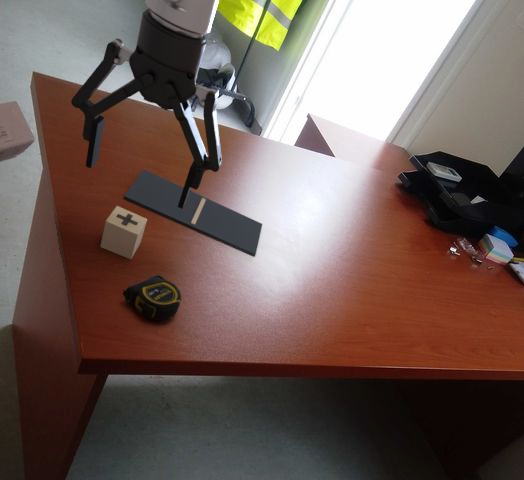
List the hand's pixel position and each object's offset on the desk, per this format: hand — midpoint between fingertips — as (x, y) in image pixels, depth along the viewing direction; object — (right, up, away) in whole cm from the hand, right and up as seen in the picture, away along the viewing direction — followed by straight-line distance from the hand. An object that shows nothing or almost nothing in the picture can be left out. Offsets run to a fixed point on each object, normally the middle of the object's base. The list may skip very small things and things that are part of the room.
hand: (137, 184), depth 66 cm
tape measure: (+1, -18, +1) cm, 18 cm away
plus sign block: (-5, -7, +7) cm, 11 cm away
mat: (+5, +3, +23) cm, 24 cm away
